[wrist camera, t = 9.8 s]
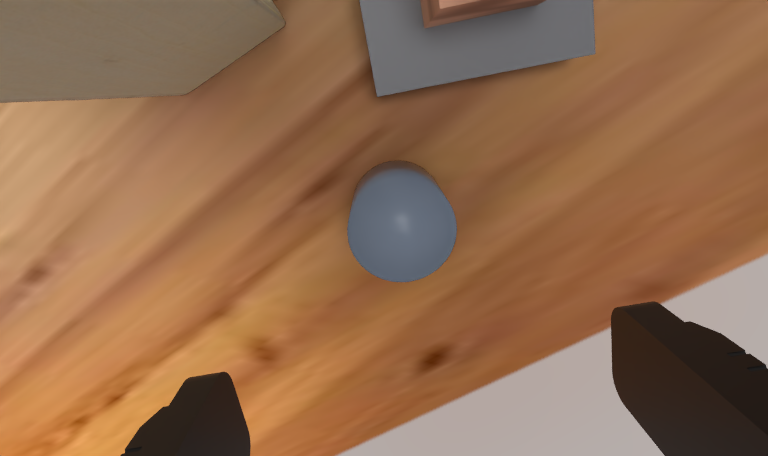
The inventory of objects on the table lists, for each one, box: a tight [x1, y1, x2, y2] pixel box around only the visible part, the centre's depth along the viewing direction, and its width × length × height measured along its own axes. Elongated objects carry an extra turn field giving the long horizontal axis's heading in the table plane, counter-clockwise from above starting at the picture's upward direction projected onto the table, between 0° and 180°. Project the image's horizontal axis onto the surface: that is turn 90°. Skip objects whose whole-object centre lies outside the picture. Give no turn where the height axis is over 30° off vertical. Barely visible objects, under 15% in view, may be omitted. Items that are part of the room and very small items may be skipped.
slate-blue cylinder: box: [347, 161, 457, 282], centre depth 23 cm, size 5×5×5 cm
